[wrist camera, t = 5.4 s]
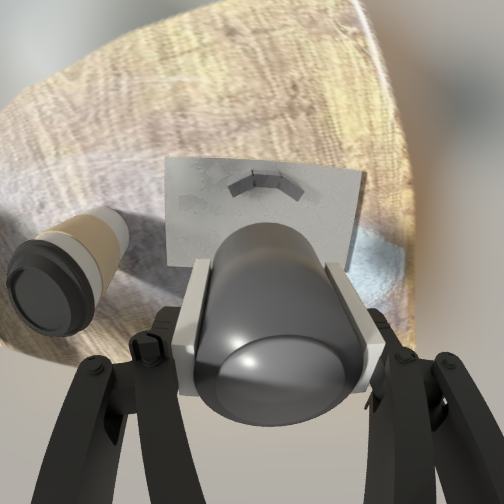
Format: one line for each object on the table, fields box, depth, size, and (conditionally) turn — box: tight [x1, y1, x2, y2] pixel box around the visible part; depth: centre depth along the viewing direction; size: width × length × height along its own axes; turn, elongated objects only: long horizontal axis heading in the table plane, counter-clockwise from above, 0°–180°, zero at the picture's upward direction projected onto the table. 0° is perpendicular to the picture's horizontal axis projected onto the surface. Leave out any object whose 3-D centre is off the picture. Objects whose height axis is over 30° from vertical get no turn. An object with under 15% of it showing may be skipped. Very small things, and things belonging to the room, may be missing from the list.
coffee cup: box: [6, 207, 130, 337], centre depth 26 cm, size 9×9×15 cm
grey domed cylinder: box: [193, 222, 364, 427], centre depth 13 cm, size 6×6×8 cm
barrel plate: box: [165, 156, 362, 270], centre depth 31 cm, size 20×12×4 cm, turn 86°
